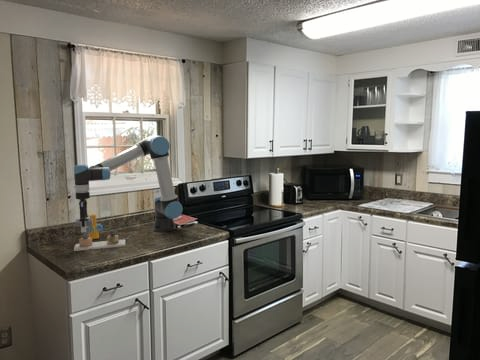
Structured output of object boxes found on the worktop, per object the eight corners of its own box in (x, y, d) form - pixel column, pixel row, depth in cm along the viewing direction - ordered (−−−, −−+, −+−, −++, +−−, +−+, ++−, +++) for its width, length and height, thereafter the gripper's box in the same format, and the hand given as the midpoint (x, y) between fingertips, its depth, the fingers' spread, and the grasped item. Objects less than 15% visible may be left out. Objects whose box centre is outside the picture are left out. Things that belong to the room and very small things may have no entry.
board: (125, 241, 234) (125, 239, 234) (125, 246, 223) (125, 244, 223) (76, 245, 226) (75, 243, 225) (73, 251, 215) (73, 249, 215)
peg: (92, 243, 226) (91, 228, 225) (91, 246, 220) (90, 231, 219) (80, 244, 224) (79, 229, 223) (78, 247, 218) (77, 232, 217)
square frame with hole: (93, 222, 226) (92, 218, 226) (92, 225, 217) (91, 221, 217) (76, 223, 223) (76, 219, 223) (74, 226, 215) (74, 222, 215)
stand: (118, 240, 230) (118, 228, 229) (118, 243, 224) (117, 231, 223) (107, 241, 228) (106, 229, 228) (107, 244, 222) (106, 232, 221)
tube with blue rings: (96, 235, 250) (95, 212, 248) (107, 237, 245) (105, 214, 243) (80, 239, 239) (78, 216, 238) (91, 241, 234) (89, 217, 232)
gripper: (77, 189, 227) (79, 226, 230) (73, 194, 207) (75, 235, 209) (90, 189, 230) (92, 225, 232) (87, 194, 209) (90, 234, 212)
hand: (84, 230), depth 221 cm, fingers closed on square frame with hole, 9 cm apart
